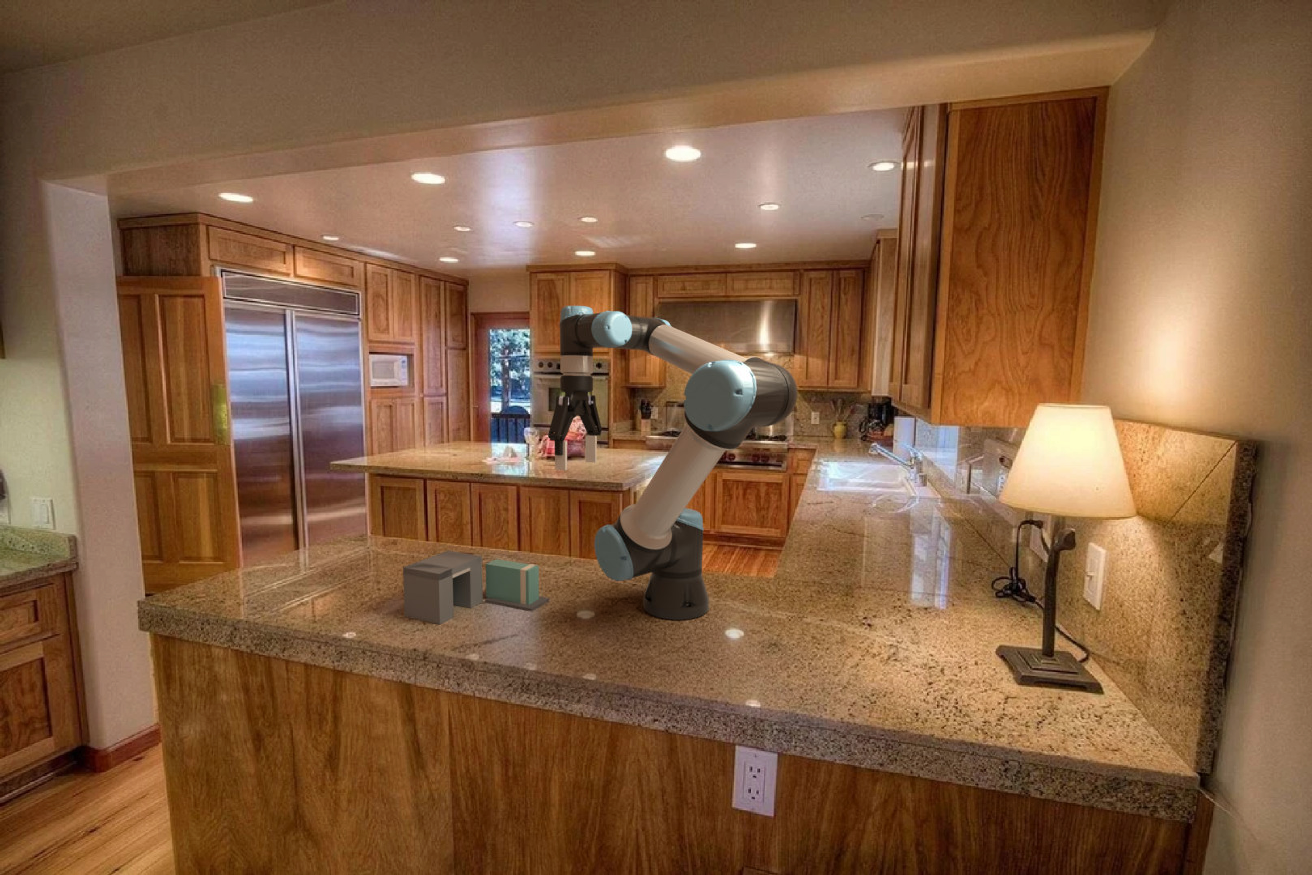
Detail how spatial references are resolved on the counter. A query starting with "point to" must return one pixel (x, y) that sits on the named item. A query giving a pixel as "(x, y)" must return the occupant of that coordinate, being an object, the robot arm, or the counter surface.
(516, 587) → the banded gift box
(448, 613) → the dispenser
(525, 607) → the pad
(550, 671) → the counter surface
